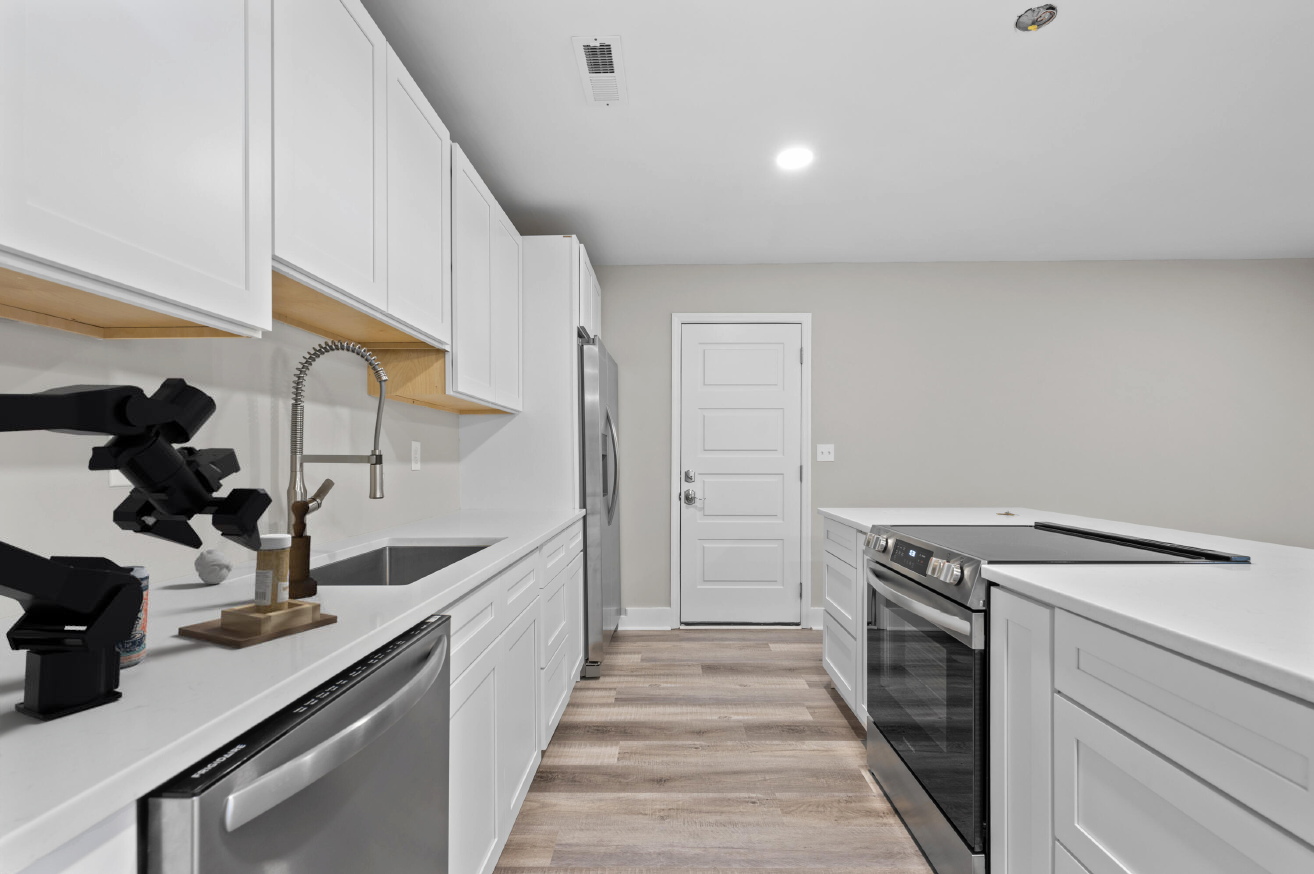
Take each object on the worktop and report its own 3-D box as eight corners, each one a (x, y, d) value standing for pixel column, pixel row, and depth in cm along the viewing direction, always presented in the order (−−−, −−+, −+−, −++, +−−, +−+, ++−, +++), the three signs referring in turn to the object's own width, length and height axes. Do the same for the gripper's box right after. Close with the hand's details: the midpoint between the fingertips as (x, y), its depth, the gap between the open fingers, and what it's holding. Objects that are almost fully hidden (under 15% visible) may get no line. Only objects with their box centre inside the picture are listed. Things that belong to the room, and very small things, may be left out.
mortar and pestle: (270, 599, 111) (274, 501, 111) (283, 592, 117) (287, 499, 118) (310, 598, 112) (314, 501, 113) (321, 590, 119) (324, 499, 119)
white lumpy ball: (215, 579, 127) (216, 546, 128) (240, 582, 125) (241, 548, 126) (185, 585, 122) (186, 550, 122) (211, 588, 120) (212, 552, 120)
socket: (240, 648, 83) (241, 622, 83) (178, 634, 89) (179, 610, 89) (337, 622, 97) (337, 600, 97) (277, 611, 103) (278, 590, 103)
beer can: (109, 673, 73) (114, 573, 74) (85, 667, 75) (90, 570, 75) (154, 660, 78) (158, 566, 78) (130, 656, 79) (134, 564, 80)
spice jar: (293, 623, 92) (296, 534, 93) (259, 629, 89) (262, 537, 89) (281, 618, 95) (284, 532, 95) (247, 624, 91) (251, 534, 92)
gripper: (264, 427, 79) (319, 505, 89) (138, 425, 81) (206, 502, 92) (209, 490, 71) (277, 568, 81) (72, 487, 73) (154, 563, 84)
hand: (229, 547), depth 85 cm, fingers open, 9 cm apart
